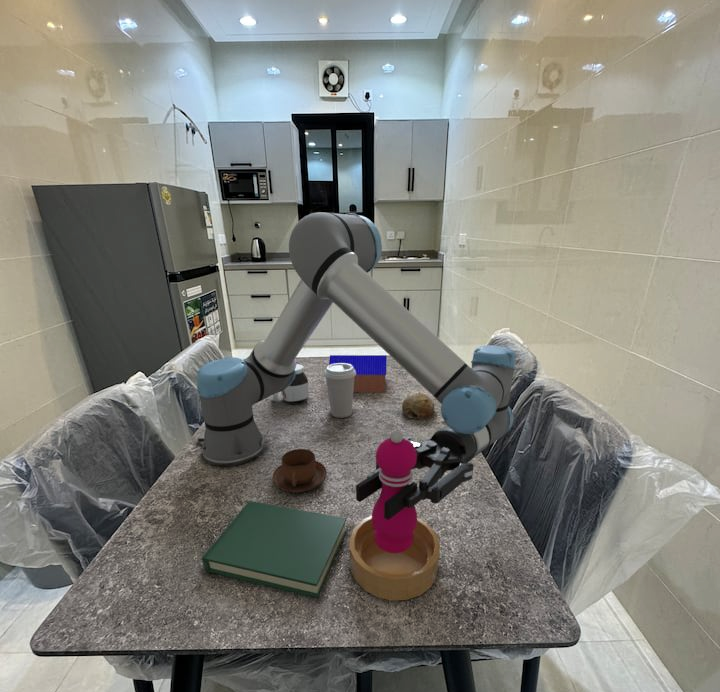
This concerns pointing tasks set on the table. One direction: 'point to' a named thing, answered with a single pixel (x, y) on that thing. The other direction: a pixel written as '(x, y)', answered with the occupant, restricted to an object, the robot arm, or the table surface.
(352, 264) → the robot arm
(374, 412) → the table surface
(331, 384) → the coffee cup
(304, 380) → the spread jar
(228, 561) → the book
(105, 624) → the table surface
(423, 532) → the bowl
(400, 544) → the pepper mill
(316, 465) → the cup and saucer
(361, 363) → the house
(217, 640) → the table surface
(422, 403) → the bread roll
